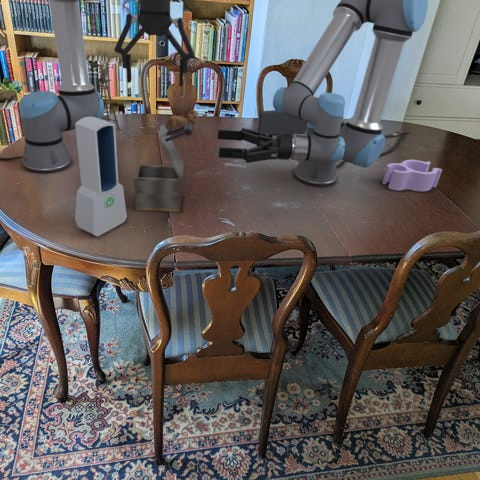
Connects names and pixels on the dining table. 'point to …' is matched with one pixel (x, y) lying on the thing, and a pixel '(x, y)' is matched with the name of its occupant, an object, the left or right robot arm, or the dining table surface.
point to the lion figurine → (182, 120)
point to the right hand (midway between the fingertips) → (218, 143)
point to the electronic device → (98, 177)
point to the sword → (394, 134)
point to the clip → (411, 176)
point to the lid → (170, 147)
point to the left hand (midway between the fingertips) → (155, 83)
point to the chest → (157, 188)
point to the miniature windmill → (102, 81)
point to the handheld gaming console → (280, 123)
